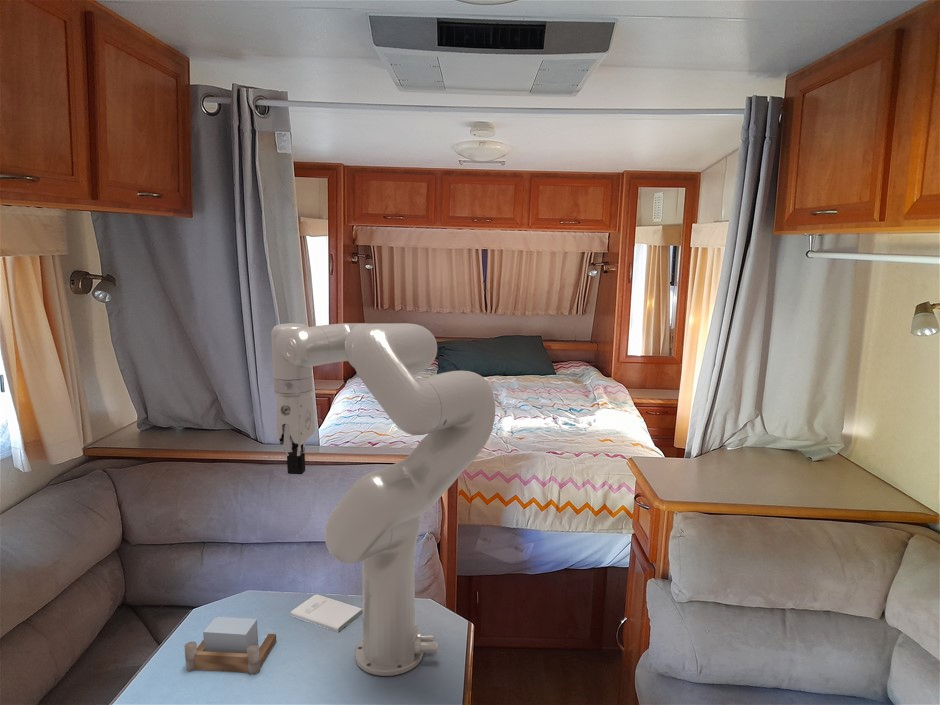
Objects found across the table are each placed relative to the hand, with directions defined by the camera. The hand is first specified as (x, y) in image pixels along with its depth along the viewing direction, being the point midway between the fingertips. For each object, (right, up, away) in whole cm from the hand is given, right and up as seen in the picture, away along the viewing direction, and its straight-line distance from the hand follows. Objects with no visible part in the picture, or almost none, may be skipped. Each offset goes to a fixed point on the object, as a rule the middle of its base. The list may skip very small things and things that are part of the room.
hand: (296, 472), depth 136 cm
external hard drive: (+6, -30, +1) cm, 31 cm away
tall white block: (-9, -32, -12) cm, 35 cm away
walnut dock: (-8, -32, -12) cm, 35 cm away
